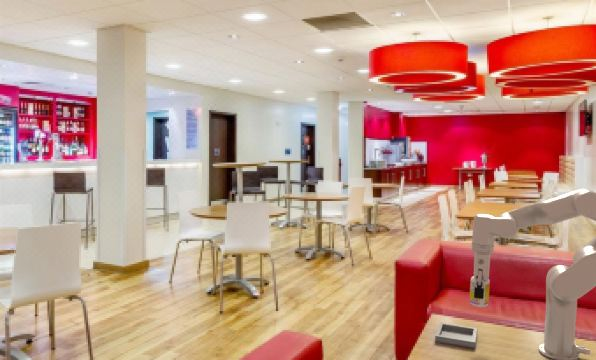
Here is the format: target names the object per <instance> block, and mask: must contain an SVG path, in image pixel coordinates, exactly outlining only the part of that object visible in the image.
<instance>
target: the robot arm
mask: <svg viewBox="0 0 596 360" xmlns="http://www.w3.org/2000/svg"><path fill="white" fill-rule="evenodd" d="M580 216H583V217H584V218H587V219H589V220H591V221H592V220H593V221H594V222H596V191H593V190H590V189H588V188H580V189H576V190H573V191H571V192H567V193H564V194H562V195H558V196H556V197H553V198H549V199H546V200H544V201H541V202H535V203H533V204H530V205H529V204H528V205H526V206H522V207H518V208H516V209H513V210H510V211H507V212H504V213H501V214H500V215H498V216H497V217H495V216H494V215H492V214H486V213H478V214H475V215H474V216H473V222H472V223H473V224H472V237H471V239H472V240H471V250H470V251H471V252H472V253H474V258H473V259H474V260H473V276H474V279H475V280H476V285H475V289H474V298H479V299H483V296H484V288H483V286H484V280H486V281H488V279H489V278H490V277H489V276H490V265H491V264H490V263H491V255H493V254H494V247H495V246H494V245H495V237H499V238H502V239H512V238H514V237H516V236H517V235H518V234H519V231H520V230H521V229H525V228H527V227H532V226H533V227H534V226H537V225H538V226H539V225H542V226H549V225H550V226H551V225H555V224H559V223H561V222H564V221H568V220H570V219H574V218H578V217H580ZM572 262H573V263H572V264H571V265H570V266H568V265H564V264H557V265H554V266H552V267H551V268H550V269H549V270H548V272H547V274H546V278H545V279H546V280H545V289H546V291H545V316H544V318H545V319H544V335H543V337H544V338H543V343H541V344H539V346H538V351H539V352H540V353H541V354H542V355H543V356H545V357H547V358H549V359H552V360H579V359H580V354H583V355H587V356H589V355H591V349H590V348H586V346H584V345H578V344H576V323H577V311H578V299H580V298H582V297H583V296H584V295H586V294H587V293H589V292H590V291H591V290H593V289H594V288H595V287H596V236H594V238H592V239H591V240H589V241H588V242H587V243H586V244H584V245H582V246H581V247H580V248H579V249H578V250H576V251H575V252H574V254H573V256H572ZM482 270H483V272H482ZM477 278H478V279H477ZM482 278H483V279H482ZM489 280H490V279H489ZM477 281H478V282H477ZM481 281H482V282H481Z"/></svg>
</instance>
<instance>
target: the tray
mask: <svg viewBox="0 0 596 360" xmlns="http://www.w3.org/2000/svg"><path fill="white" fill-rule="evenodd" d="M434 337H435V339H434V343H437V344H444V345H450V346H456V347H461V348H467V349H472V350H473V349H476V345H477V344H476V343H477V338H478V327H471V326H465V325H459V324H452V323H446V322H439V325H438V328H437V330H436V333H435V336H434Z"/></svg>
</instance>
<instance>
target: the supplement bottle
mask: <svg viewBox="0 0 596 360" xmlns="http://www.w3.org/2000/svg"><path fill="white" fill-rule="evenodd" d="M482 272H483V270H482ZM477 279H478V278H477ZM482 279H483V278H482ZM490 281H491V280H490V279H488V281H486V280H484V286H483V288H484V296H483V299H479V298H474V289H475V285H476V280H475V279H474V275H473V276H471V277H470V285H469V286H470V287H469V304H470V305H472V306H473V307H478V308H486V307H488V306H489V300H490V299H489V298H490V284H491V283H490ZM477 282H478V281H477ZM481 282H482V281H481Z"/></svg>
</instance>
